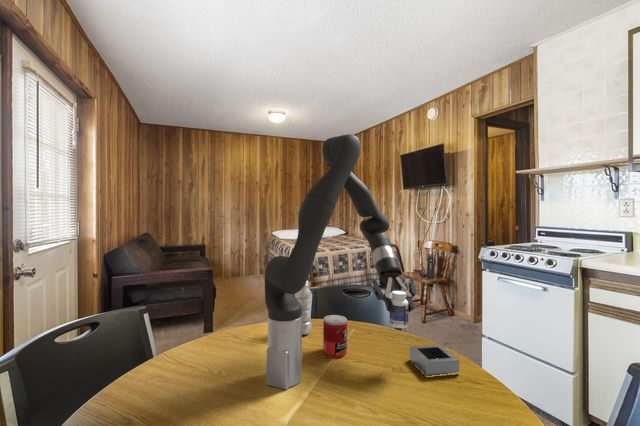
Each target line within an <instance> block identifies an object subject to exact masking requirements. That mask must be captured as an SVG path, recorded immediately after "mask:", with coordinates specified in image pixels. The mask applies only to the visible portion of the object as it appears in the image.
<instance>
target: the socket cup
mask: <svg viewBox="0 0 640 426" xmlns="http://www.w3.org/2000/svg"><path fill="white" fill-rule="evenodd" d="M436 358H438V359H436ZM410 359H411V360H412V362H413V363H414V364H415V365H416V366H417V367H418V368H419V369H420V370H421V371H422V372H423V373H424V374H425V375H426V376H432V375H440V374H448V373H456V372H459V373H460V359H458V358H457V357H456V356H455V355H454V354H452V353H451V352H449V350H447V349H446V348H445V347H443V346H442V345H440V344H430V345H429V344H428V345H416V346H409V360H410ZM412 362H411V363H412ZM413 363H412V364H413ZM414 364H413V365H414ZM415 365H414V366H415ZM416 366H415V367H416Z"/></svg>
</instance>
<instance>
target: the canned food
mask: <svg viewBox="0 0 640 426" xmlns="http://www.w3.org/2000/svg"><path fill="white" fill-rule="evenodd" d="M322 323H323V325H322V326H323V328H322V330H323V332H322V333H323V345H322V347H323V349H322V350H323V353H324V354H325V356H327V357H330V358H334V359H335V358H336V359H339V358H343V357H344V356H346V354H347V352H348V319H347V318H346V316H344V315H339V314H329V315H326V316H324V317H323V322H322Z"/></svg>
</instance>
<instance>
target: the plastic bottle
mask: <svg viewBox="0 0 640 426" xmlns="http://www.w3.org/2000/svg"><path fill="white" fill-rule="evenodd" d="M309 285H310V284H309V280H307V282H306V284H305V286H304V287H303V288H302V289H301V290H300V291H299V292H297V293H295V294H294V295H295V297H296V299H297V300H298V301H299V303H300V304H301V306H302V336H304V335H308V334H310V332H311V331H312V321H311V304H312V298H313V297H312V296H313V293H312V291H311V290H310V288H309Z"/></svg>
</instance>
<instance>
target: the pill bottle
mask: <svg viewBox="0 0 640 426" xmlns="http://www.w3.org/2000/svg"><path fill="white" fill-rule="evenodd" d="M405 298H406V292H403V291H392V292H391V301H392V305H393V308H394V311H393V313H389V325H390V326H391V327H393V328H396V329H405V328H407V327H408V326H409V311H408V301H407V300H406V299H405Z"/></svg>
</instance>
